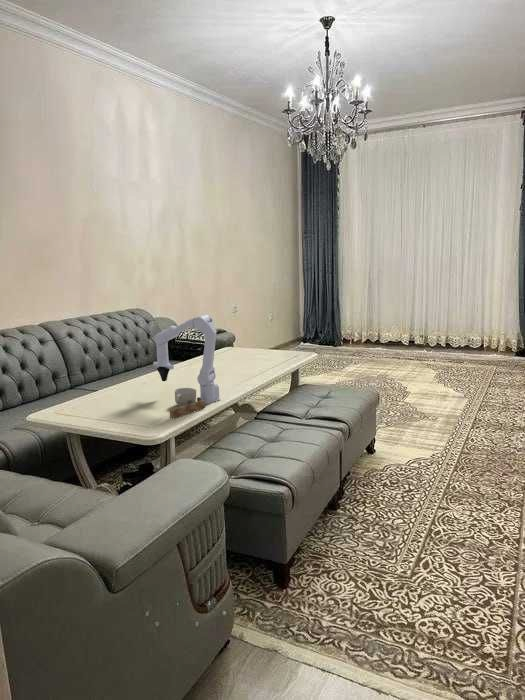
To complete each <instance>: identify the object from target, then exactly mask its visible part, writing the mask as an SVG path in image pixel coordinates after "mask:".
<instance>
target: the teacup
mask: <svg viewBox="0 0 525 700" xmlns="http://www.w3.org/2000/svg"><path fill="white" fill-rule="evenodd" d="M188 400H191V401H192V403H193V402H197V389H196V388H192V387H180V388H177V389H175V390H174V401H175V404H176V405H177V406H178V407H181V406H184V405H187V404H188V402H187V401H188Z"/></svg>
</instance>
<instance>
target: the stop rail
mask: <svg viewBox="0 0 525 700" xmlns="http://www.w3.org/2000/svg"><path fill="white" fill-rule="evenodd" d="M187 402H188V404H187V405H184V406H178V407H174V408H172V409H169V419H171V418H172V419H171V420H174V419H177V418H180V417H179V416H181V417H183V416H182V415H184V416H186V415H185V414H187V415H189V414H188V413H190V414H192V413H191V412H193V413H195V412H194V411H196V412H198V411H197V410H199V411H201V410H200V409H202V410H205V409H206V403H205V401H204V400H201V396H199V397H196V402H193V403H192V401H191V400H188V401H187ZM204 408H205V409H204ZM176 417H177V418H176ZM173 418H174V419H173Z"/></svg>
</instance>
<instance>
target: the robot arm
mask: <svg viewBox="0 0 525 700" xmlns="http://www.w3.org/2000/svg"><path fill="white" fill-rule="evenodd" d="M189 328H192V329H194V328H195V329H196V330H198V331H199V332H200V333H203V335H204V337H205V338H204V348H203V354H202V356H203V357H202V366H201V368H200V370H199V374H198V375H197V378H196V379H197V380H196V381H197V383H198V384H199V393H200V395H199V397H200V398H201V400H204V401H205V405H207V404H211V403H215V402H218V401H221V398H220V386H219V384H218V383H217V382H215V381H214V380H215V379H216V372H215V369H216V368H215V367H214V359H215V350H216V342H217V341H216V340H217V330H216V327H215V324H214V319H213V318H212V317H211V316H210V315H209V314H202V315H199V316H197V317H193V318H191V319H188V320H186V321H185V322H183V323H181V324H179V325H177V326H176V325H170V326H168V327H167V328H166V329H162V330H161V332H158V333H155V334H154V336H153V341H154V343H155V346H156V347H155V348H156V361H153V362H152V363H153V366H154V367H157V368H156V370H157V372H158V375H159V376H160V378H161V381H162V382H166V381H168V376H169V372H170V370H171V371H172V370H174V369H175V368H174V365H173V364H171V363H170V360H169V348H168V346H169V345H168V342H169V341H170V340H173V339H175V338H177V337H178V336H180V333H181V332H183V331H184V330H187V329H189Z"/></svg>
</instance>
